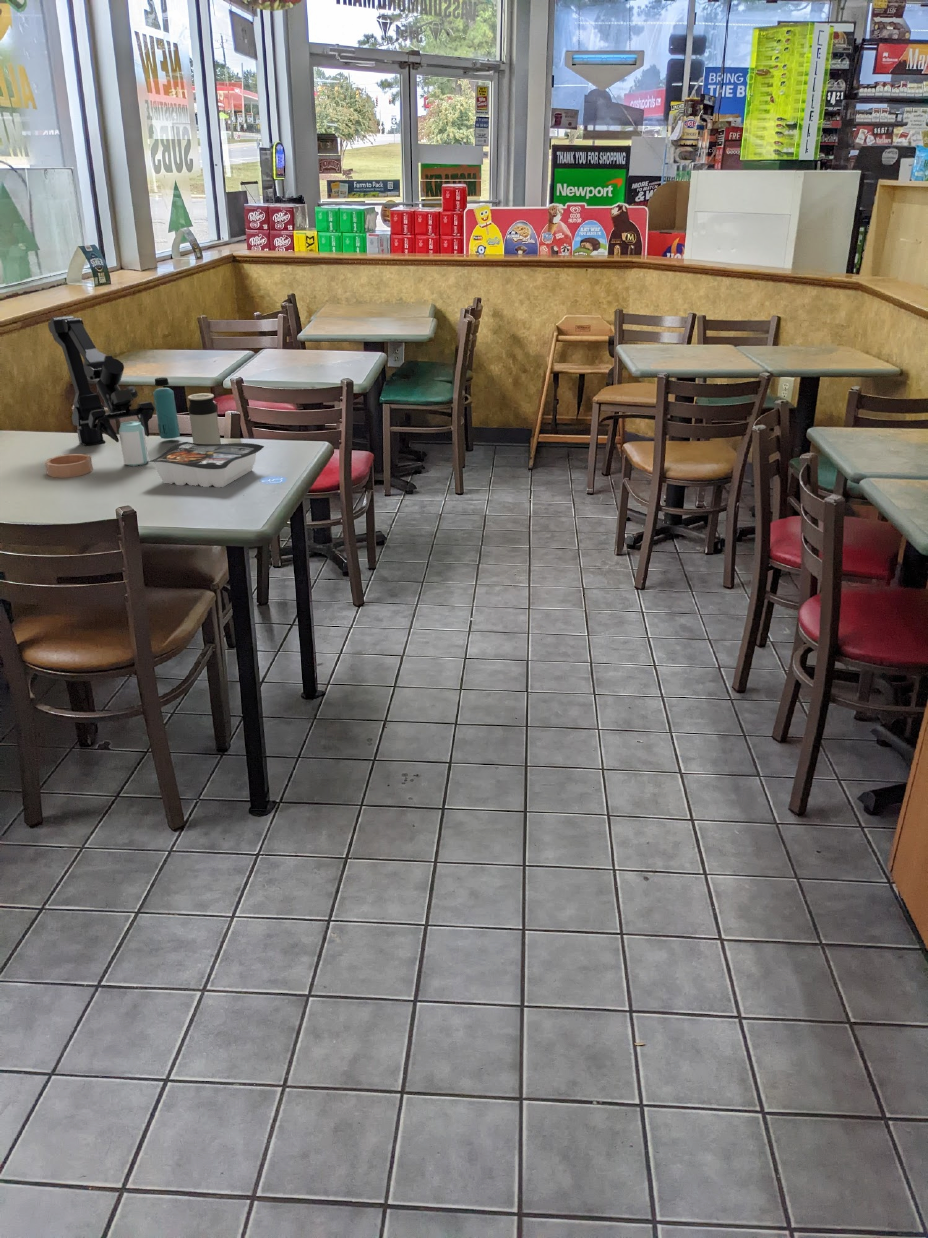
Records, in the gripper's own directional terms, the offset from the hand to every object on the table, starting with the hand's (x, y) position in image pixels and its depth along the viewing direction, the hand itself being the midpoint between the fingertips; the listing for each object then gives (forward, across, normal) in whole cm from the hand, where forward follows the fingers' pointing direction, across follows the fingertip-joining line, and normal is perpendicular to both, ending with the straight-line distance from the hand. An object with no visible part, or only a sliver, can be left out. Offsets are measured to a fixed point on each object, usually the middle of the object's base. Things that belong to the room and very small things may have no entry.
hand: (133, 438), depth 286 cm
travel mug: (+10, +20, +1) cm, 22 cm away
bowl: (+1, -18, +10) cm, 20 cm away
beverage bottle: (-8, +19, +18) cm, 28 cm away
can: (+5, 0, +6) cm, 8 cm away
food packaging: (+25, +9, -14) cm, 30 cm away
